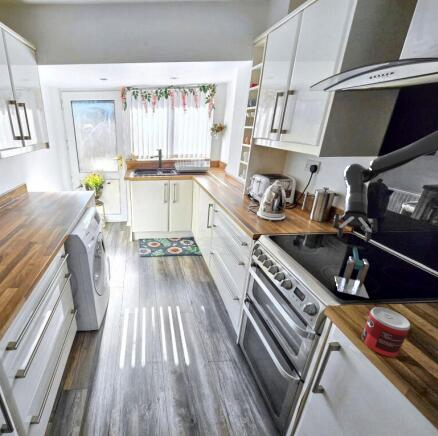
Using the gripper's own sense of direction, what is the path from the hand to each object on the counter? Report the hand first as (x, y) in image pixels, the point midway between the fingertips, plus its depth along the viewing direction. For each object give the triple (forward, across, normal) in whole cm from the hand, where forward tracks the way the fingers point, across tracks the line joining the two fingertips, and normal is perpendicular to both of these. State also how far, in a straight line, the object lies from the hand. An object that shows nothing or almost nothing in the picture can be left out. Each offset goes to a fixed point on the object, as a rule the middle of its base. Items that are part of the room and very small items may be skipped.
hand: (353, 239), depth 99 cm
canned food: (+41, -2, +19) cm, 45 cm away
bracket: (+21, 0, -1) cm, 21 cm away
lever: (+9, 0, +3) cm, 10 cm away
